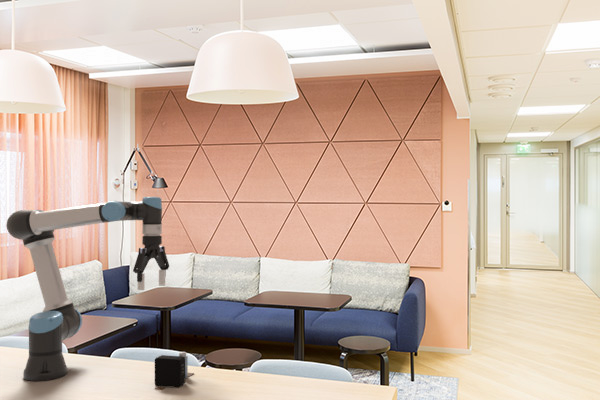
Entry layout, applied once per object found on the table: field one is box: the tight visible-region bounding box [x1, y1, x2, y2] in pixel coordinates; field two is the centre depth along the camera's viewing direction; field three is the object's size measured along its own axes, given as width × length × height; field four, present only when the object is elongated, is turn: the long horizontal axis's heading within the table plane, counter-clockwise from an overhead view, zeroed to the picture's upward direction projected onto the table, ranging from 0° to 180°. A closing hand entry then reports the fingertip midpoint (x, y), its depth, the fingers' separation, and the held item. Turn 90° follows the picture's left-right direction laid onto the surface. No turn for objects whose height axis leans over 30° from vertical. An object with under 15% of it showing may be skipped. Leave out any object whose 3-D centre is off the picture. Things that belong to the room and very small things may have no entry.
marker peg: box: [178, 351, 189, 379], centre depth 210 cm, size 4×4×9 cm
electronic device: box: [154, 354, 186, 389], centre depth 201 cm, size 4×10×10 cm, turn 77°
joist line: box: [154, 372, 195, 391], centre depth 205 cm, size 3×20×1 cm, turn 158°
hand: (151, 287), depth 224 cm, fingers open, 13 cm apart
